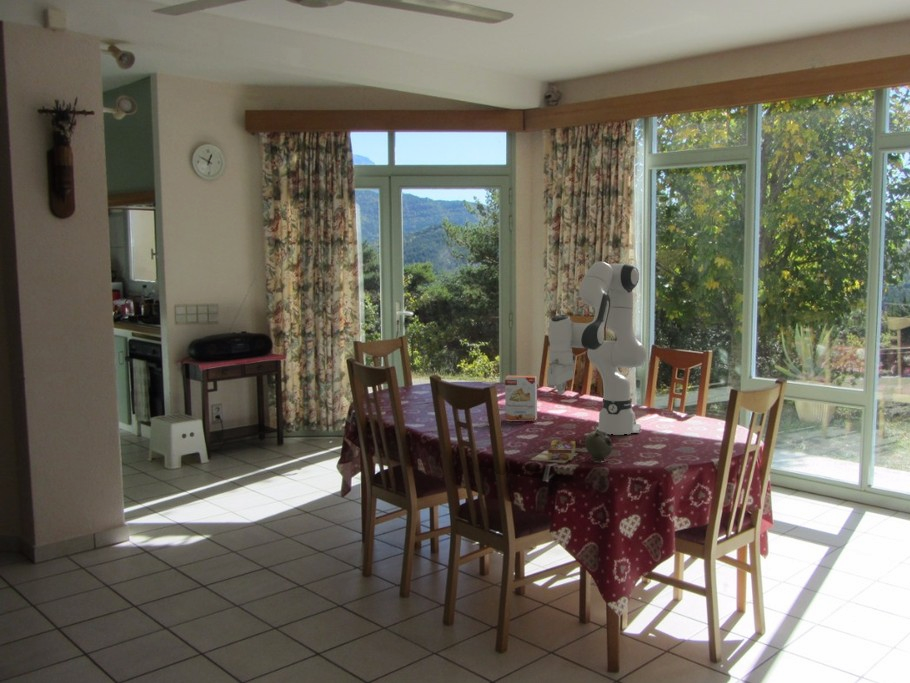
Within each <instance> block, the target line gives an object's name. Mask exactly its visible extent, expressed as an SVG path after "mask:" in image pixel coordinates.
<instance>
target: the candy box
mask: <svg viewBox="0 0 910 683" xmlns="http://www.w3.org/2000/svg"><path fill="white" fill-rule="evenodd" d="M547 450H548V459H550V460H569V461H572V460H573V458H574V457H573V456H574V453H576V441H575V440H559V439H558V440H557V439H555V440H554V439H553V440H552V441H551V443H550V445H549V447H548V449H547Z"/></svg>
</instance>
